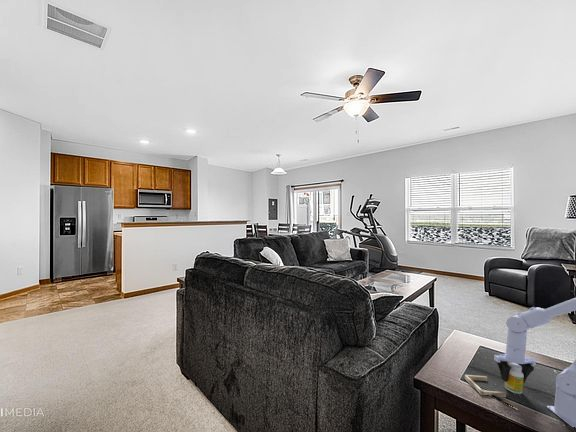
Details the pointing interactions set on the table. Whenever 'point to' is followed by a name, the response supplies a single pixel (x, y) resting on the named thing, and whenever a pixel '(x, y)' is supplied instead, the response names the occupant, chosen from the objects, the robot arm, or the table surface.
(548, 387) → the table surface
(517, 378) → the supplement bottle
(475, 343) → the table surface
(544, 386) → the table surface
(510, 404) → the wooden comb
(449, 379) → the table surface
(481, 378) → the ash bracket
